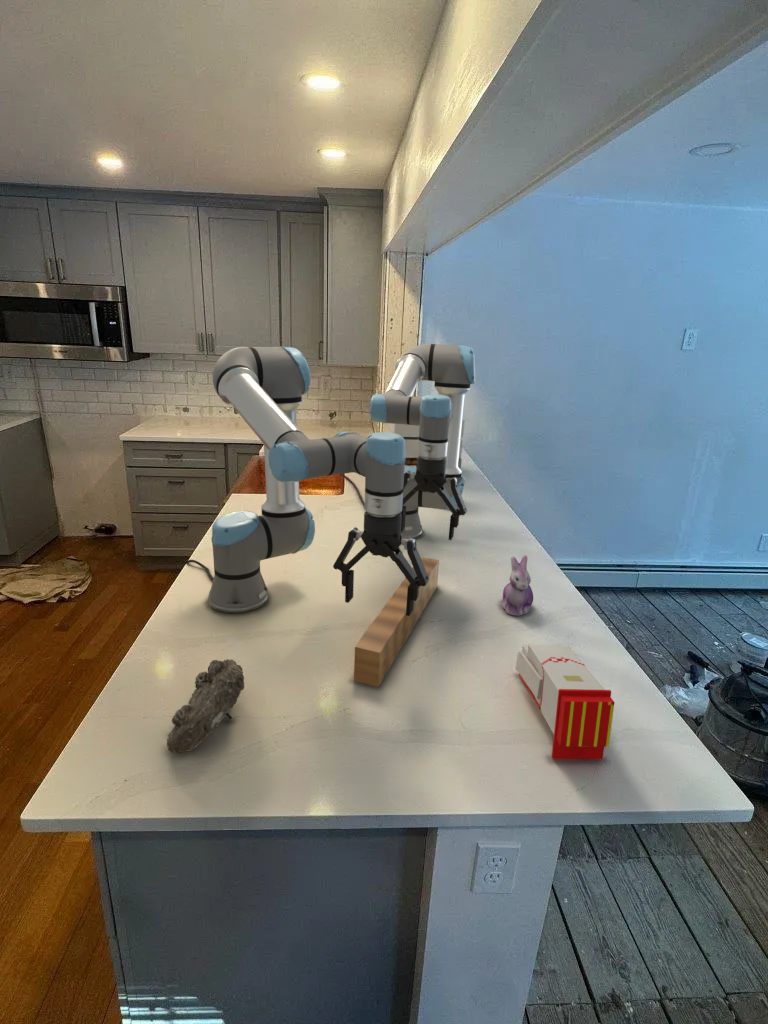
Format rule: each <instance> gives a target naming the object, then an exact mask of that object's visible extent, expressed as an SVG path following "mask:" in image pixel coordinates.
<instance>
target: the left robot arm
mask: <svg viewBox="0 0 768 1024" xmlns="http://www.w3.org/2000/svg"><path fill="white" fill-rule="evenodd" d="M212 385H213V389H215V390H214V391H215V392H216V394H217V395H218V397H219V398H220V399H221V401H222V402H223V403H224V404H226V405H227V406H230V407H233V408H234V409H235V411H236V412H237V414H239V416H240V417H241V418H242V419H243V420H244V421H245V423H246V424H247V425H248V427H249V428H250V429H251V430H252V431H253V433H254V434H255V435H256V437H258V439H259V440H260V441H261V442H262V443H263V454H264V455H263V458H264V473H265V474H264V476H265V491H266V492H265V493H266V494H265V495H266V501H265V502H264V503H263V504H262V505H261V515H258V514H257V513H256V512H254V511H250V510H244V511H242V510H237V511H232V512H229V513H226V514H223V515H221V516H220V517H218V518H216V520H214V522H213V524H212V526H211V540H210V541H211V543H212V544H211V545H212V557H213V572H214V575H212V574H211V571H210V569H209V568H208V567H207V566H206V565H204V564H203V563H201V562H200V561H197V560H196V559H187V560H186V561H185V564H190V563H194V564H196V565H198V566H199V567H201V568H202V569H204V570H205V571H206V573H207V576H208V578H210V580H211V581H212V583H211V587H210V590H209V592H208V603H209V606H210V607H211V608H212V609H213V610H215V611H217V612H221V613H226V614H244V613H249V612H252V611H256V610H257V609H260V608H261V607H263V606H264V605H266V603H267V602H268V600H269V591H268V587H267V585H266V581H265V579H264V577H263V575H262V572H261V561H264V560H268V559H273V558H277V557H282V556H287V555H294V554H297V553H298V552H302V551H305V550H307V549H308V548H309V547H310V546H311V545H312V543H313V542H314V538H315V534H316V533H315V532H316V524H315V519H314V516H313V513H312V512H311V511H310V509H308V508H307V507H306V503H305V502H304V501H302V500H301V498H300V482H301V481H306V480H311V479H312V480H313V479H317V478H318V479H319V478H323V477H331V476H337V475H340V474H343V475H345V474H350V473H351V474H352V473H354V474H357V475H359V476H362V477H364V480H365V481H364V503H365V507H364V506H363V507H364V513H363V531H362V530H359V528H358V527H356V526H354V527H353V528H352V529H351V530H349V532H348V533H347V541H346V543H345V544H344V546H343V548H342V549H341V551H340V553H339V555H338V556H337V557H336V560H335V561H334V563H333V565H332V568H333V570H339V571H340V572H341V586H342V587H344V588H345V589H344V590H345V591H344V603H346V604H349V603H350V602H351V601H352V599H353V598H354V581H355V570H354V569H352V568H353V567H354V566H355V565H356V564H357V563H359V561H360V560H361V559H363V557H365V556H366V555H367V554H368V553H370V554H371V555H372V556H376V557H377V556H380V557H382V558H388V557H389V558H390V560H391V561H392V562H394V563H395V564H396V566H397V568H398V569H399V570H400V572H401V573H402V574H403V575H404V578H405V577H406V578H407V580H408V581H409V583H410V585H409V586H408V591H407V606H406V615H407V616H410V614H411V613H412V611H413V605H414V601H416V600H417V598H418V597H419V586H426V584H427V582H428V581H429V577H428V575H427V572H426V570H425V567H424V565H423V563H422V560H421V558H420V557H421V556H420V555H421V554H420V553H419V551H418V548H417V538H414V537H411V538H410V539H402V537H401V520H402V514H401V513H400V512H401V511H402V502H403V484H404V469H405V467H406V465H405V460H406V456H405V455H406V454H405V440H404V438H403V437H402V436H401V435H398V434H392V433H387V432H386V431H383V432H381V431H379V432H374V433H370V434H368V435H367V437H366V436H364V435H361V434H360V433H357V432H354V431H341V432H338V433H337V434H336V435H334V436H333V437H325V438H324V437H323V438H313V439H310V438H308V436H307V435H306V434H305V433H304V432H302V430H301V429H300V428H299V427H298V423H297V421H298V419H297V408H298V407H300V405H301V404H302V402H303V399H302V398H303V395H305V394H306V393H307V392H308V391H309V389H310V385H311V371H310V367H309V363H308V362H307V360H306V357H305V356H304V354H303V353H302V352H301V351H300V350H299V349H297V348H295V347H291V346H282V345H280V346H239V347H234V348H231V349H229V350H228V351H226V352H225V353H223V354H222V355H221V356H220V357H219V358H218V359H217V361H216V363H215V365H214V367H213V371H212ZM360 539H361V540H362V542H363V544H364V546H363V548H362V549H361V550H360V551H358V553H356V554H355V555H354V556H353V557H352V558H351V559H350V560H349V561H348V562H347V563H345V561H346V560H347V557H348V555H349V553H350V552H351V551H352V548H353V547H354V545H355V544H356V542H357V541H359V540H360ZM400 546H403V547H404V550H406V553H407V556H408V559H409V560H410V563H411V564H410V563H409V561H408V560H407V558H406V557H405V555H404V554H403V551H402V549H401V547H400ZM411 565H412V566H411ZM413 568H414V570H415V571H414V570H413Z"/></svg>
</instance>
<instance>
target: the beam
mask: <svg viewBox="0 0 768 1024" xmlns="http://www.w3.org/2000/svg"><path fill="white" fill-rule="evenodd" d="M420 558H421V560H422V563H423V565H424V567H425V570H426V572H427V575H428V577H429V581H428V582H427V584H426V586H419V597H418V598H417V600H416V601H414V605H413V611H412V613H411V614H410V616H407V615H406V606H407V591H408V586H409V585H410V583H409V581H408V580H407V578H406V577H405V576H404V579H403V580H402V581H401V583H400V584H399V585H398V587H397V588H396V590H395V591H394V592H393V593H392V595H391V596H390V598H389V599H388V601H387V602H386V603H385V605H384V606H383V607H382V609H381V610H380V611H379V613H378V615H376V617H375V619H374V620H373V621H372V623H371V624H370V625H369V627H368V628H367V629H366V631H365V632H364V634H363V635H362V636H361V638H360V639H359V641H358V642H357V643H356V645H355V646H354V661H353V662H354V664H353V681H354V682H357V683H361V684H365V685H368V686H373V687H377V688H379V687H380V685H381V683H382V682H383V680H384V678H385V676H386V675H387V672H388V671H389V670H390V668H391V666H392V664H393V663H394V661H395V659H396V658H397V656H398V654H399V652H400V651H401V649H402V647H403V646H404V644H405V643H406V640H407V639H408V637H409V635H410V633H412V631H413V628H414V627H415V625H416V623H417V622H418V620H419V618H420V617H421V615H422V613H423V611H424V610H425V608H426V606H427V605H428V603H429V601H430V599H431V598H432V596H433V595H434V593H435V591H436V589H437V588H438V579H439V568H440V567H439V566H440V559H435V558H429V557H423V556H420ZM412 568H413V567H412ZM413 570H414V568H413ZM414 571H415V570H414Z"/></svg>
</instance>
